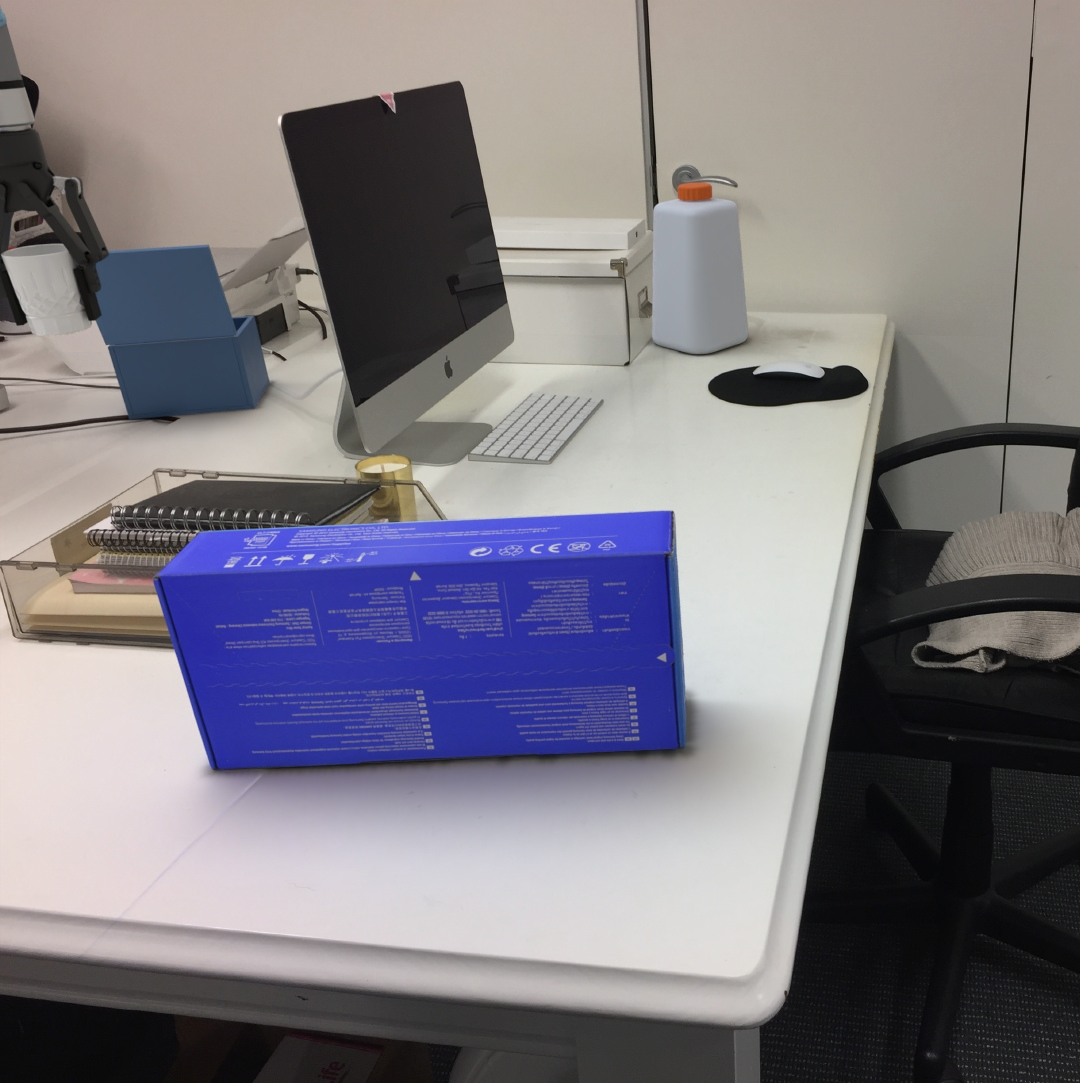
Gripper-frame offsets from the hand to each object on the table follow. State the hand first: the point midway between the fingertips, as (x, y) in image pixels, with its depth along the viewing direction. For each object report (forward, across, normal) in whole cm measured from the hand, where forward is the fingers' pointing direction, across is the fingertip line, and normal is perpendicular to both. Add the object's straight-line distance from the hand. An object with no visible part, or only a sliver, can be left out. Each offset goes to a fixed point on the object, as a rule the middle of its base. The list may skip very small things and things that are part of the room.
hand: (59, 320), depth 132 cm
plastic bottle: (+21, +90, +40) cm, 101 cm away
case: (+22, +5, +30) cm, 38 cm away
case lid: (+2, +5, +22) cm, 23 cm away
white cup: (+1, 0, 0) cm, 1 cm away
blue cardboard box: (+21, +48, -71) cm, 88 cm away
